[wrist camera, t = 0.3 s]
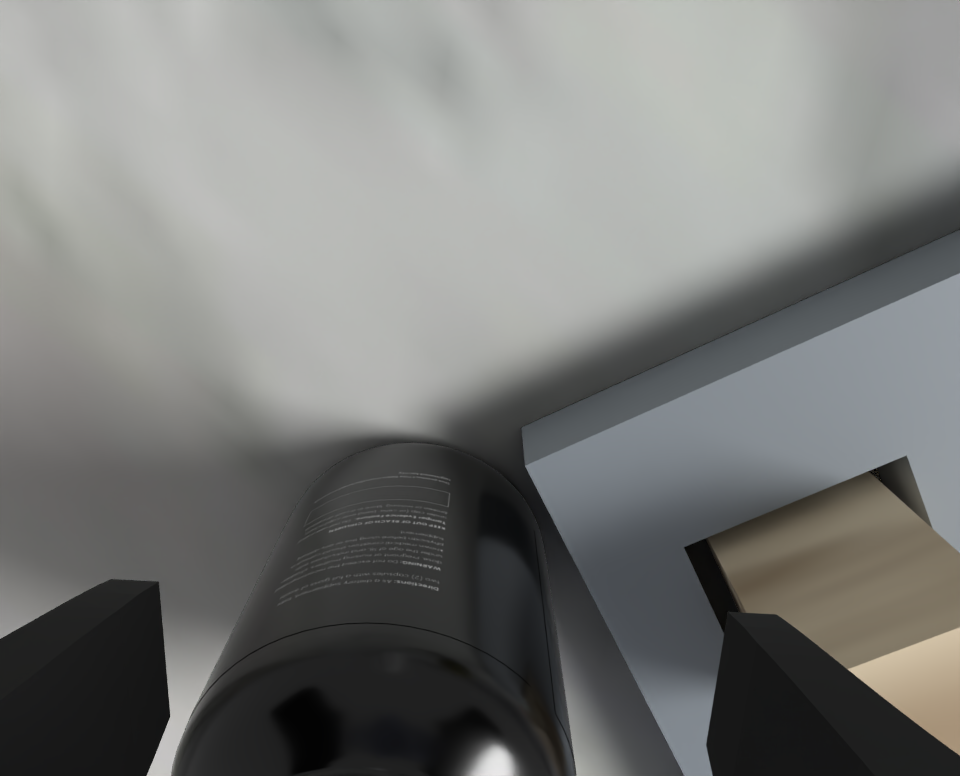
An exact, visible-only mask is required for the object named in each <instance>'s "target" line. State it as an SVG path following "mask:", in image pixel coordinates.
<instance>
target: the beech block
mask: <svg viewBox="0 0 960 776" xmlns="http://www.w3.org/2000/svg"><path fill="white" fill-rule="evenodd" d="M706 541H707V543H708V545H709V547H710V549H711V552H712V554H713V556H714V558H715V561H716V563H717V565H718V567H719V569H720V572H721V574H722V576H723V578H724V580H725V583H726V585H727V587H728V589H729V591H730V594H731V596H732V598H733V600H734V602H735V605H736V607H737V609H738V611H739V612H741V613H760V614H777V615H778V616H779V617H781V618H782V619H784V620H785V621H787V622H788V623H789V624H791V625H792V626H793V627H795V628H796V629H797V630H799V631H800V632H801V633H803V634H804V635H805V636H807V637H808V638H809V639H810V640H812V641H813V642H814V643H815V644H817V645H818V646H819V647H820V648H822V649H823V650H824V651H825V652H827V653H828V654H829V655H830V656H832V657H833V658H834V659H835V660H837V661H838V662H839V663H840V664H842V665H843V666H844V667H845V668H847V669H848V670H849V671H850V672H852V673H853V674H854V675H855V676H856V677H858V678H859V679H860V680H861V681H863V682H864V683H865V684H867V685H868V686H869V687H870V688H872V689H873V690H874V691H875V692H877V693H878V694H879V695H880V696H882V697H883V698H884V699H885V700H887V701H888V702H889V703H891V704H892V705H893V706H894V707H896V708H897V709H898V710H900V711H901V712H902V713H903V714H905V715H906V716H907V717H909V718H910V719H911V720H913V721H914V722H915V723H917V724H918V725H919V726H920V727H922V728H923V729H924V730H926V731H927V732H928V733H930V734H931V735H932V736H934V737H935V738H937V739H938V740H939V741H941V742H942V743H943V744H945V745H946V746H947V747H949V748H950V749H951V750H953V751H954V752H956V753H957V754H958V755H960V553H959V552H958V551H957V550H956V549H955V548H953V547H952V546H951V545H950V544H949V543H948V542H947V541H946V540H945V539H943V538H942V537H941V536H940V535H939V534H938V533H937V532H936V531H935V530H933V529H932V528H931V527H930V526H929V525H928V524H927V523H926V522H925V521H923V520H922V519H921V518H920V517H919V516H918V515H917V514H916V513H915V512H913V511H912V510H911V509H910V508H909V507H908V506H907V505H906V504H905V503H903V502H902V501H901V500H900V499H899V498H898V497H897V496H896V495H895V494H893V493H892V492H891V491H890V490H889V489H888V488H887V487H886V486H885V485H883V484H882V483H881V482H880V481H879V480H878V479H877V478H876V477H875V476H873V475H872V474H871V473H870V472H869V471H868V472H865V473H863V474H860V475H858V476H855V477H853V478H851V479H848V480H846V481H843V482H841V483H838V484H836V485H834V486H831V487H829V488H826V489H824V490H821V491H819V492H817V493H814V494H812V495H809V496H807V497H804V498H802V499H800V500H797V501H795V502H792V503H790V504H787V505H785V506H783V507H780V508H778V509H775V510H773V511H771V512H768V513H766V514H763V515H761V516H758V517H756V518H754V519H751V520H749V521H746V522H744V523H741V524H739V525H737V526H734V527H732V528H729V529H727V530H724V531H722V532H720V533H717V534H715V535H712V536H710V537H707V538H706Z"/></svg>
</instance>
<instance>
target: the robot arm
mask: <svg viewBox="0 0 960 776" xmlns="http://www.w3.org/2000/svg"><path fill="white" fill-rule="evenodd" d="M169 718H170V709H169V697H168V685H167V673H166V662H165V650H164V638H163V626H162V614H161V603H160V591H159V582H152V581H133V580H114V579H111V580H108V581H106V582H104V583H102V584H100V585H98V586H95V587H94V588H92V589H90V590H88V591H86V592H84V593H82V594H80V595H78V596H76V597H74V598H73V599H71V600H69V601H67V602H65V603H63V604H62V605H60V606H58V607H56V608H55V609H53V610H51V611H49V612H47V613H46V614H44V615H42V616H40V617H39V618H37V619H35V620H33V621H32V622H30V623H28V624H26V625H24V626H23V627H21V628H19V629H17V630H16V631H14V632H12V633H10V634H8V635H7V636H5V637H3V638H1V639H0V776H146V775H147V773H148V771H149V768H150V766H151V763H152V761H153V759H154V756H155V754H156V751H157V749H158V746H159V743H160V741H161V738H162V736H163V733H164V731H165V728H166V726H167V723H168V721H169ZM706 747H707V752H708V757H709V761H710V766H711V770H712V775H713V776H960V755H958V754H957V753H956V752H954V751H953V750H951V749H950V748H949V747H947V746H946V745H945V744H943V743H942V742H941V741H939V740H938V739H937V738H935V737H934V736H932V735H931V734H930V733H928V732H927V731H926V730H924V729H923V728H922V727H920V726H919V725H918V724H917V723H915V722H914V721H913V720H911V719H910V718H909V717H907V716H906V715H905V714H903V713H902V712H901V711H900V710H898V709H897V708H896V707H894V706H893V705H892V704H891V703H889V702H888V701H887V700H885V699H884V698H883V697H882V696H880V695H879V694H878V693H877V692H875V691H874V690H873V689H872V688H870V687H869V686H868V685H867V684H865V683H864V682H863V681H861V680H860V679H859V678H858V677H856V676H855V675H854V674H853V673H852V672H850V671H849V670H848V669H847V668H845V667H844V666H843V665H842V664H840V663H839V662H838V661H837V660H835V659H834V658H833V657H832V656H830V655H829V654H828V653H827V652H825V651H824V650H823V649H822V648H820V647H819V646H818V645H817V644H815V643H814V642H813V641H812V640H810V639H809V638H808V637H807V636H805V635H804V634H803V633H801V632H800V631H799V630H797V629H796V628H795V627H793V626H792V625H791V624H789V623H788V622H787V621H785V620H784V619H782V618H781V617H779V616H778V615H777V614H760V613H741V612H728V614H727V620H726V626H725V632H724V638H723V644H722V651H721V657H720V663H719V669H718V675H717V681H716V687H715V693H714V699H713V705H712V711H711V717H710V723H709V730H708V736H707V742H706Z"/></svg>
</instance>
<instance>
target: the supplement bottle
mask: <svg viewBox="0 0 960 776" xmlns="http://www.w3.org/2000/svg"><path fill="white" fill-rule="evenodd" d="M171 776H576V768H575V761H574V754H573V746H572V739H571V732H570V725H569V717H568V710H567V703H566V696H565V689H564V681H563V674H562V667H561V660H560V652H559V645H558V638H557V631H556V624H555V616H554V609H553V602H552V595H551V588H550V580H549V573H548V567H547V560H546V555H545V549H544V544H543V540H542V536H541V533H540V530H539V527H538V524H537V522H536V519H535V517H534V515H533V513H532V511H531V509H530V507H529V506H528V504H527V503H526V501H525V500H524V498H523V497H522V496H521V494H520V493H519V492H518V491H517V489H516V488H515V487H514V486H513V485H512V484H511V483H510V482H509V481H508V480H507V479H506V478H505V477H504V476H502V475H501V474H500V473H499V472H498V471H496V470H495V469H493V468H492V467H490V466H489V465H488V464H486V463H484V462H483V461H481V460H479V459H477V458H475V457H473V456H471V455H469V454H466V453H464V452H461V451H458V450H455V449H452V448H449V447H445V446H440V445H435V444H427V443H412V442H409V443H394V444H387V445H382V446H378V447H374V448H370V449H367V450H364V451H361V452H359V453H357V454H354V455H352V456H350V457H348V458H346V459H344V460H342V461H341V462H339V463H337V464H335V465H334V466H333V467H331V468H330V469H329V470H327V471H326V472H325V473H323V474H322V475H321V476H320V477H319V478H318V479H317V480H316V481H315V482H314V483H313V484H312V485H311V486H310V487H309V488H308V490H307V491H306V492H305V494H304V495H303V496H302V498H301V499H300V501H299V502H298V504H297V505H296V507H295V509H294V511H293V512H292V514H291V516H290V518H289V520H288V522H287V524H286V525H285V527H284V529H283V531H282V533H281V535H280V537H279V539H278V541H277V543H276V545H275V547H274V549H273V551H272V553H271V555H270V557H269V559H268V561H267V563H266V565H265V567H264V569H263V571H262V573H261V575H260V577H259V579H258V581H257V583H256V585H255V587H254V589H253V591H252V593H251V595H250V597H249V599H248V601H247V603H246V605H245V607H244V609H243V611H242V613H241V615H240V617H239V619H238V621H237V623H236V625H235V627H234V629H233V631H232V633H231V635H230V637H229V639H228V641H227V643H226V645H225V647H224V649H223V651H222V654H221V656H220V658H219V660H218V662H217V664H216V666H215V668H214V670H213V672H212V674H211V676H210V678H209V680H208V682H207V684H206V686H205V688H204V690H203V692H202V694H201V696H200V698H199V700H198V702H197V704H196V706H195V708H194V710H193V712H192V714H191V717H190V719H189V721H188V724H187V726H186V728H185V731H184V733H183V736H182V738H181V741H180V743H179V746H178V748H177V751H176V755H175V758H174V762H173V766H172V772H171Z"/></svg>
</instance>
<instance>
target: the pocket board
mask: <svg viewBox="0 0 960 776" xmlns="http://www.w3.org/2000/svg"><path fill="white" fill-rule="evenodd" d="M521 429H522V439H523V450H524V461H525V467H526V469H527V471H528V473H529V475H530V477H531V479H532V480H533V482H534V484H535V486H536V488H537V490H538V492H539V494H540V496H541V498H542V500H543V502H544V504H545V506H546V508H547V510H548V512H549V514H550V515H551V517H552V519H553V521H554V523H555V525H556V527H557V529H558V531H559V533H560V535H561V537H562V539H563V541H564V543H565V545H566V547H567V549H568V550H569V552H570V554H571V556H572V558H573V560H574V562H575V564H576V566H577V568H578V570H579V572H580V574H581V576H582V578H583V580H584V582H585V584H586V586H587V587H588V589H589V591H590V593H591V595H592V597H593V599H594V601H595V603H596V605H597V607H598V609H599V611H600V613H601V615H602V617H603V619H604V621H605V622H606V624H607V626H608V628H609V630H610V632H611V634H612V636H613V638H614V640H615V642H616V644H617V646H618V648H619V650H620V652H621V654H622V656H623V657H624V659H625V661H626V663H627V665H628V667H629V669H630V671H631V673H632V675H633V677H634V679H635V681H636V683H637V685H638V687H639V689H640V691H641V693H642V694H643V696H644V698H645V700H646V702H647V704H648V706H649V708H650V710H651V712H652V714H653V716H654V718H655V720H656V722H657V724H658V726H659V728H660V729H661V731H662V733H663V735H664V737H665V739H666V741H667V743H668V745H669V747H670V749H671V751H672V753H673V755H674V757H675V759H676V761H677V763H678V765H679V766H680V768H681V770H682V772H683V774H684V776H713V775H712V770H711V766H710V761H709V757H708V752H707V747H706V742H707V736H708V730H709V723H710V717H711V711H712V705H713V699H714V693H715V687H716V681H717V675H718V669H719V663H720V657H721V651H722V644H723V638H724V632H723V630H722V628H721V626H720V624H719V621H718V619H717V617H716V615H715V613H714V611H713V609H712V606H711V604H710V602H709V600H708V598H707V596H706V594H705V591H704V589H703V587H702V585H701V583H700V581H699V578H698V576H697V574H696V572H695V570H694V568H693V566H692V563H691V561H690V559H689V557H688V555H687V553H686V550H685V548H684V547H686V546H688V545H690V544H693V543H695V542H698V541H700V540H703V539H705V538H707V537H710V536H712V535H715V534H717V533H720V532H722V531H724V530H727V529H729V528H732V527H734V526H737V525H739V524H741V523H744V522H746V521H749V520H751V519H754V518H756V517H758V516H761V515H763V514H766V513H768V512H771V511H773V510H775V509H778V508H780V507H783V506H785V505H787V504H790V503H792V502H795V501H797V500H800V499H802V498H804V497H807V496H809V495H812V494H814V493H817V492H819V491H821V490H824V489H826V488H829V487H831V486H834V485H836V484H838V483H841V482H843V481H846V480H848V479H851V478H853V477H855V476H858V475H860V474H863V473H865V472H868V471H870V470H872V469H875V468H877V469H878V472H879V475H880V478H881V480H882V483H883V485H885V486H886V487H887V488H888V489H889V490H890V491H891V492H892V493H893V494H895V495H896V496H897V497H898V498H899V499H900V500H901V501H902V502H903V503H905V504H906V505H907V506H908V507H909V508H910V509H911V510H912V511H913V512H915V513H916V514H917V515H918V516H919V517H920V518H921V519H922V520H923V521H925V522H926V523H927V524H928V525H929V526H930V527H931V528H932V529H933V530H935V531H936V532H937V533H938V534H939V535H940V536H941V537H942V538H943V539H945V540H946V541H947V542H948V543H949V544H950V545H951V546H952V547H953V548H955V549H956V550H957V551H958V552H959V553H960V230H958V231H955V232H953V233H951V234H949V235H946V236H944V237H942V238H940V239H938V240H935V241H933V242H931V243H929V244H926V245H924V246H922V247H920V248H918V249H915V250H913V251H911V252H909V253H907V254H904V255H902V256H900V257H898V258H895V259H893V260H891V261H889V262H887V263H884V264H882V265H880V266H878V267H876V268H873V269H871V270H869V271H867V272H864V273H862V274H860V275H858V276H856V277H853V278H851V279H849V280H847V281H845V282H842V283H840V284H838V285H836V286H833V287H831V288H829V289H827V290H825V291H822V292H820V293H818V294H816V295H814V296H811V297H809V298H807V299H805V300H802V301H800V302H798V303H796V304H794V305H791V306H789V307H787V308H785V309H783V310H780V311H778V312H776V313H774V314H771V315H769V316H767V317H765V318H763V319H760V320H758V321H756V322H754V323H752V324H749V325H747V326H745V327H743V328H740V329H738V330H736V331H734V332H732V333H729V334H727V335H725V336H723V337H721V338H718V339H716V340H714V341H712V342H709V343H707V344H705V345H703V346H701V347H698V348H696V349H694V350H692V351H689V352H687V353H685V354H683V355H681V356H678V357H676V358H674V359H672V360H670V361H667V362H665V363H663V364H661V365H658V366H656V367H654V368H652V369H650V370H647V371H645V372H643V373H641V374H639V375H636V376H634V377H632V378H630V379H627V380H625V381H623V382H621V383H619V384H616V385H614V386H612V387H610V388H608V389H605V390H603V391H601V392H599V393H596V394H594V395H592V396H590V397H588V398H585V399H583V400H581V401H579V402H577V403H574V404H572V405H570V406H568V407H565V408H563V409H561V410H559V411H557V412H554V413H552V414H550V415H548V416H546V417H543V418H541V419H539V420H537V421H534V422H532V423H530V424H528V425H526V426H523V427H521Z"/></svg>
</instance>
